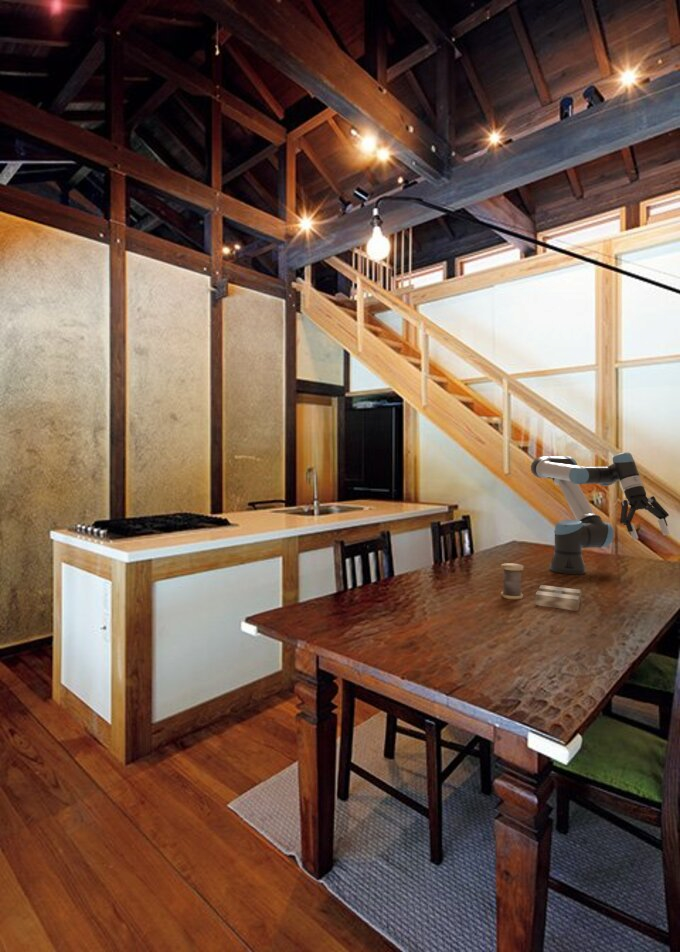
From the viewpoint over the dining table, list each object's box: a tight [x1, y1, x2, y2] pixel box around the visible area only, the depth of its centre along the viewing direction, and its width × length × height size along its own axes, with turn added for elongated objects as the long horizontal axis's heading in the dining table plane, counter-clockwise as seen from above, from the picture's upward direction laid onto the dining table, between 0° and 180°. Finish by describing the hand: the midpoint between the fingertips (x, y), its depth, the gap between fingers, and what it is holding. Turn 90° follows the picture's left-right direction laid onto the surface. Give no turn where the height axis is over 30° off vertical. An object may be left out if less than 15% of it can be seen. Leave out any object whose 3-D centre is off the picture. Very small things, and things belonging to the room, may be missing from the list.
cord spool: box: [500, 562, 524, 600], centre depth 192 cm, size 8×8×12 cm
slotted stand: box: [534, 584, 582, 612], centre depth 184 cm, size 14×14×4 cm
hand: (651, 537), depth 204 cm, fingers open, 13 cm apart
